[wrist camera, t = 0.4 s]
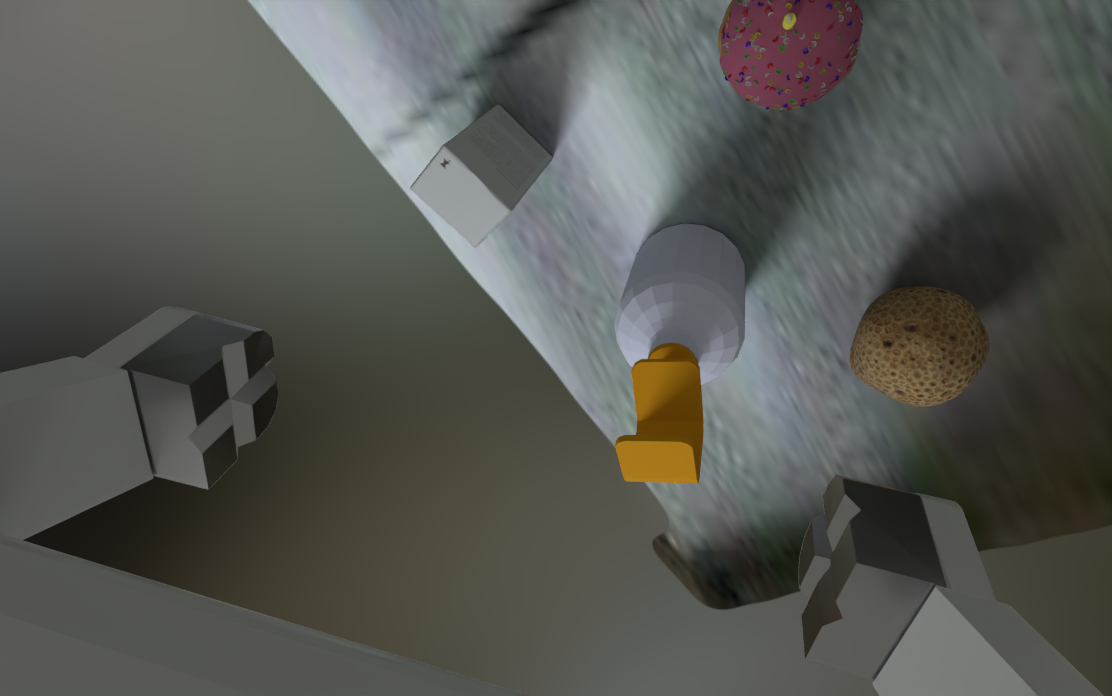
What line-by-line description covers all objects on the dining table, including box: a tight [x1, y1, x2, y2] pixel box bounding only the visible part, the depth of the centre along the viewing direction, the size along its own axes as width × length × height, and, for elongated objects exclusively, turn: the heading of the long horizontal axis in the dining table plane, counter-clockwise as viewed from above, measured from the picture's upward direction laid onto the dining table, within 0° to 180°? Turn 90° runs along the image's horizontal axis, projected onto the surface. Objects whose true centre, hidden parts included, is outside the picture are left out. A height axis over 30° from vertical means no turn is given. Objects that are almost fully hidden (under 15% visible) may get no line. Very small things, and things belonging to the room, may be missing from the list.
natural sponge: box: [850, 286, 990, 407], centre depth 51 cm, size 9×9×10 cm
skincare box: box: [410, 104, 552, 248], centre depth 51 cm, size 6×4×12 cm
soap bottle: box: [615, 224, 745, 483], centre depth 48 cm, size 9×9×25 cm
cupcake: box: [718, 0, 863, 110], centre depth 43 cm, size 9×8×12 cm
